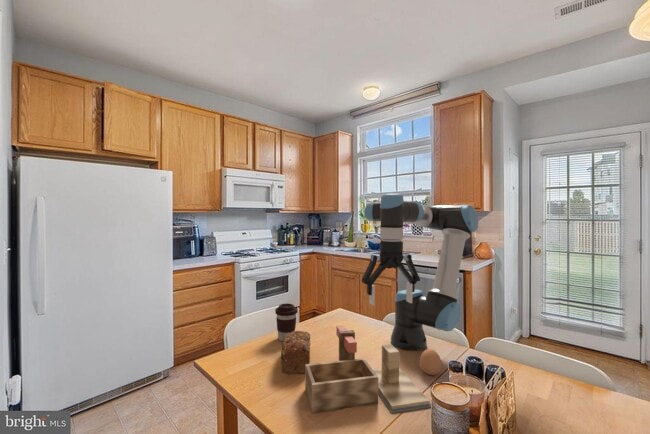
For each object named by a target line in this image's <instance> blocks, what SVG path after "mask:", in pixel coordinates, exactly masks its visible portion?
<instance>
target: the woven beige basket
mask: <svg viewBox="0 0 650 434" xmlns="http://www.w3.org/2000/svg"><path fill="white" fill-rule="evenodd" d="M343 335H351V336H352V337H353V338H354V339H355V340H356V332H355V330H354V329H351V330H349V329H348V330H347V331H339V338H338V360H336V361H326V362H317V363H316V362H315V363H310V364H305V374H304V375H305V377H304V378H305V379H304V380H305V381H304V382H305V383H304V387H305V393H306V397H307V399H308V400H307V401H308V404H309V407H310V411H311V414H315V413H316V414H317V413H323V412H330V411H337V410H344V409H345V410H346V409H350V408H357V407H358V408H360V407H365V406H371V405H379V394H378V376H377V375H376V373H375V372H374V371H373V370H374V369H373V368H372V367H371V365H370V364H369V362H368V361H367V360H366V358H363V357H362V358H356V353H348V351H347V350H346V348H345V347H344V345H343Z"/></svg>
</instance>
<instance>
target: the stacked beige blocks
mask: <svg viewBox="0 0 650 434" xmlns="http://www.w3.org/2000/svg"><path fill="white" fill-rule="evenodd" d="M373 371H374V372H375V373H376V375H377V376H378V390H379V392H380V393H381V395H382V396H383V397H384V399H385V400H386V402H387V403H388V405H389V406H390V407H391V409H399V408H406V407H412V406H419V405H426V404H429V403H430V400H429V399H428V397H427V396H426V395H425V394H424V393H423V392H422V391H421V389H419V388H418V387H417V386H416V384H415V383H413V381H411V379H410V378H409V377H408V376H407V375H406V373H404V372H403V371H402V370H401V369H400V351H399V350H398V349H397V347H396V346H394V345H393V344H392V343H390V344H382V345H381V369H380V368H379V369H373Z"/></svg>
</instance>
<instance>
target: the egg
mask: <svg viewBox="0 0 650 434" xmlns="http://www.w3.org/2000/svg"><path fill="white" fill-rule="evenodd" d="M419 365H420V368H421V369H422V371H423V372H424V373H426V374H427V375H430V376H434V375H437V374H439V373H440V372H441V369H442V365H443V364H442V358H441V357H440V355H439V354H438V352H437V351H435V350H434V349H432V348H431V349H425V350H424V351H422V353H421V355H420V358H419Z"/></svg>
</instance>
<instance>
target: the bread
mask: <svg viewBox="0 0 650 434" xmlns="http://www.w3.org/2000/svg"><path fill="white" fill-rule="evenodd" d="M280 355H281V356H280V359H281V363H280V365H281V372H282V373H283V374H286V375H305V364H311V361H310V360H311V359H310V358H311V334H310V332H307V331H302V330H295V331H292V332H290V333H289V334H287V335H285V337H284V339H283V341H282V345H281V354H280Z"/></svg>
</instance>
